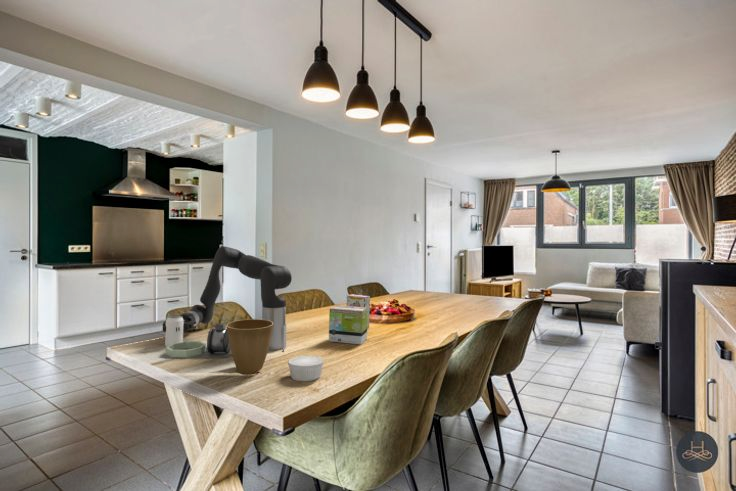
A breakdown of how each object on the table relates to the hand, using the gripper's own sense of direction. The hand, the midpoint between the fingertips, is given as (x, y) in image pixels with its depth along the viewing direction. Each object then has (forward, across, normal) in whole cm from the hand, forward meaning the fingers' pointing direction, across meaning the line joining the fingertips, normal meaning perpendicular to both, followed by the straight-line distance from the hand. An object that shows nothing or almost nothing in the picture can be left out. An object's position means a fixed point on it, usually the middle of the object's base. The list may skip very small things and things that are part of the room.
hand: (170, 329), depth 159 cm
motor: (+10, +23, +6) cm, 26 cm away
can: (-3, 0, +8) cm, 8 cm away
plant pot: (+29, +39, +7) cm, 49 cm away
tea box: (-12, +71, +7) cm, 73 cm away
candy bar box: (-38, +76, +7) cm, 85 cm away
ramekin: (+34, +58, +7) cm, 67 cm away
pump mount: (+10, +15, +7) cm, 20 cm away
